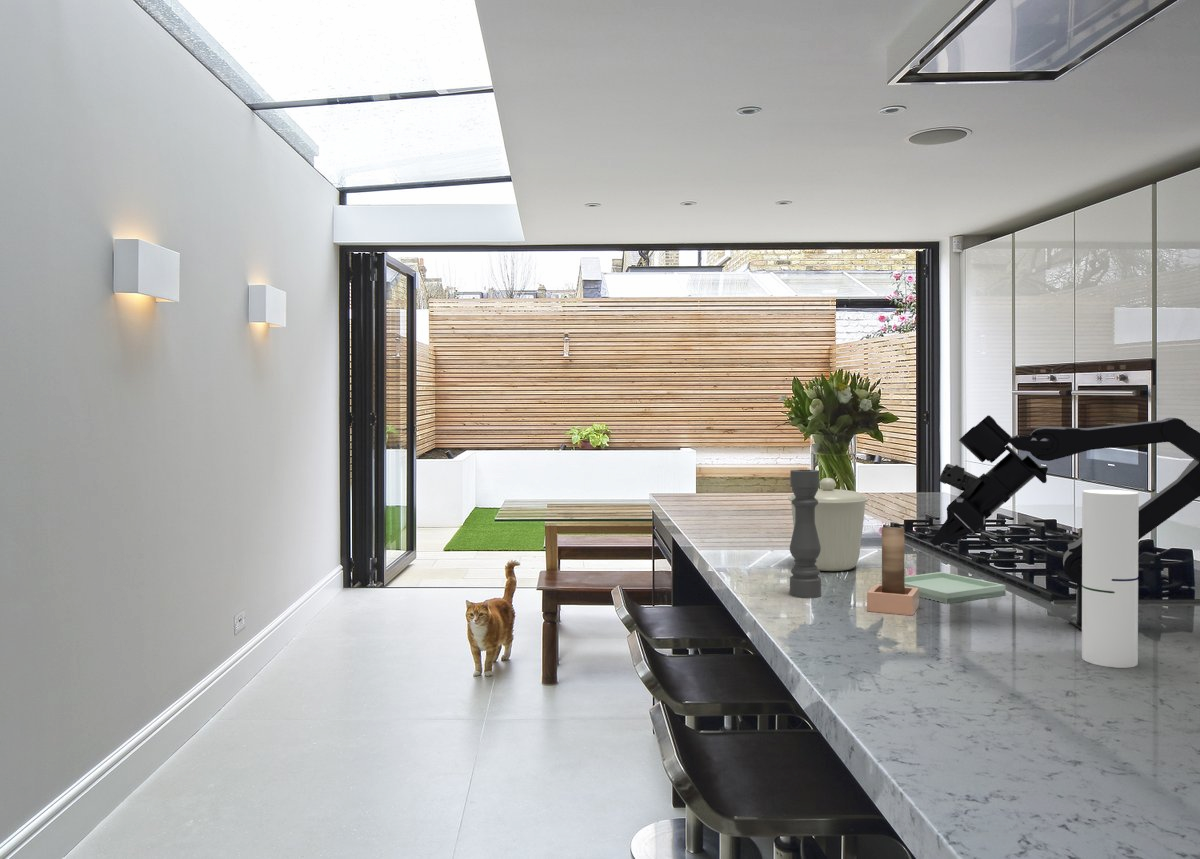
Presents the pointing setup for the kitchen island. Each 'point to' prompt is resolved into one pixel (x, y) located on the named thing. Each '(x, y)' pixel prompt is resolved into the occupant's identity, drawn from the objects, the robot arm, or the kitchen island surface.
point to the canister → (837, 526)
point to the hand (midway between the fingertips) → (935, 540)
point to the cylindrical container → (1110, 577)
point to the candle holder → (805, 535)
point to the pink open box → (893, 601)
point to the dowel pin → (893, 560)
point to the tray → (953, 587)
